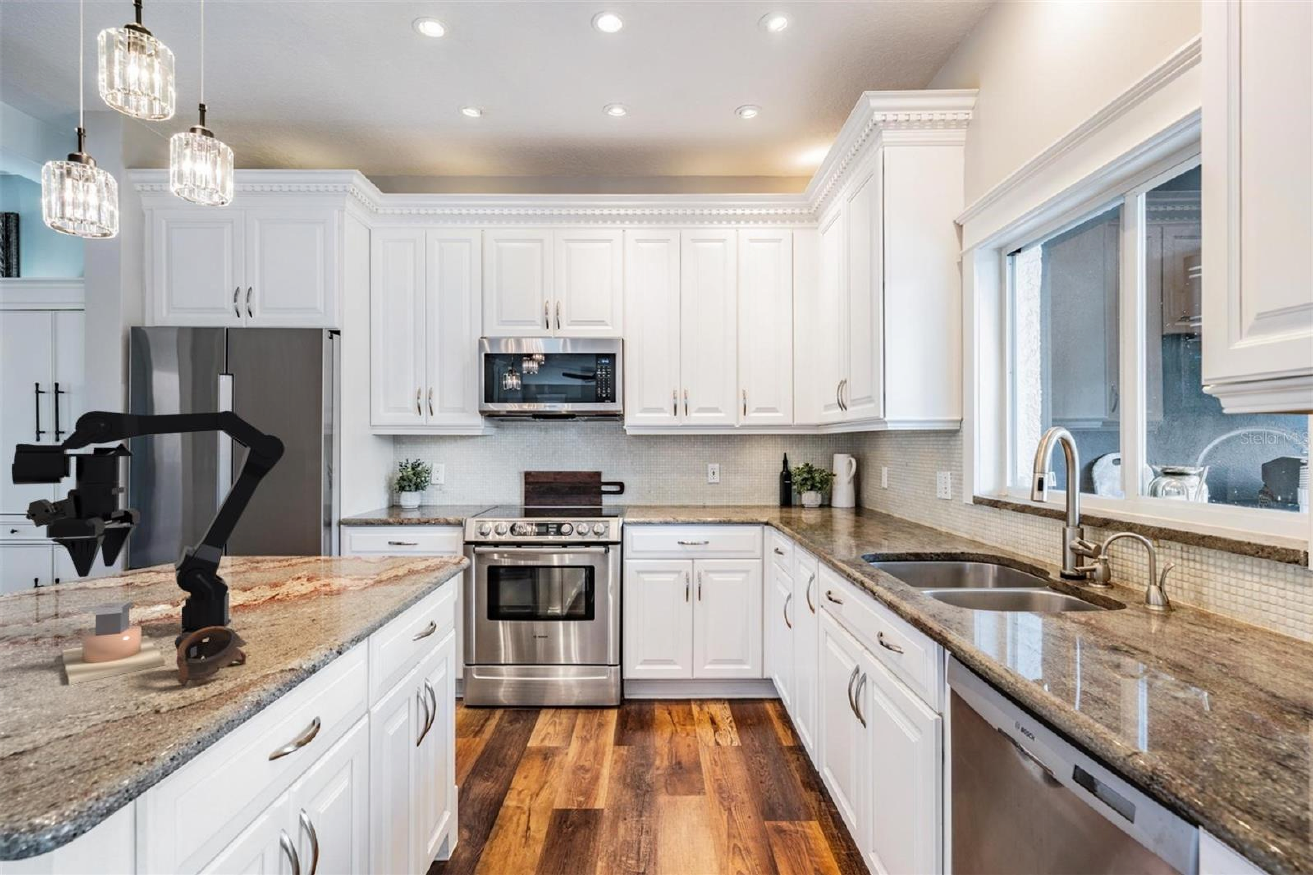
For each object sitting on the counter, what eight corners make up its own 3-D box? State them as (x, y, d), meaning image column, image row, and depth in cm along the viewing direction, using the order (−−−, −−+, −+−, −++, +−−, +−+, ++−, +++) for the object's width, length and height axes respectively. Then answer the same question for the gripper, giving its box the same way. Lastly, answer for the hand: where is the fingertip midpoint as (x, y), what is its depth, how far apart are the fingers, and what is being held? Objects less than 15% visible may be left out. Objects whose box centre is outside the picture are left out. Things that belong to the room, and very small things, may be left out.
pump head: (132, 626, 102) (132, 601, 102) (121, 632, 98) (122, 606, 98) (84, 630, 99) (85, 604, 99) (72, 637, 96) (73, 610, 96)
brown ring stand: (266, 666, 98) (258, 630, 94) (214, 714, 90) (203, 676, 86) (204, 642, 100) (194, 606, 96) (148, 687, 92) (134, 650, 88)
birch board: (61, 655, 101) (61, 650, 101) (147, 640, 109) (147, 635, 109) (69, 684, 89) (69, 679, 89) (164, 665, 97) (164, 660, 97)
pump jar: (148, 645, 104) (149, 604, 104) (130, 659, 97) (130, 615, 97) (94, 651, 101) (95, 608, 101) (72, 665, 94) (73, 620, 94)
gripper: (67, 480, 112) (65, 564, 112) (3, 487, 95) (2, 587, 95) (141, 479, 116) (140, 560, 116) (94, 485, 99) (92, 581, 99)
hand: (96, 571), depth 106 cm, fingers open, 9 cm apart
